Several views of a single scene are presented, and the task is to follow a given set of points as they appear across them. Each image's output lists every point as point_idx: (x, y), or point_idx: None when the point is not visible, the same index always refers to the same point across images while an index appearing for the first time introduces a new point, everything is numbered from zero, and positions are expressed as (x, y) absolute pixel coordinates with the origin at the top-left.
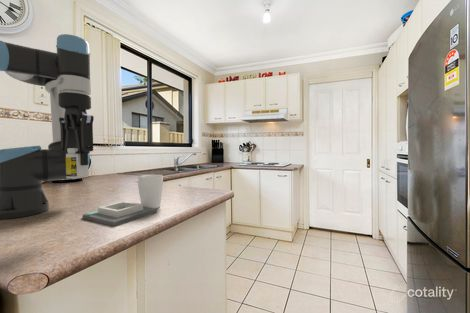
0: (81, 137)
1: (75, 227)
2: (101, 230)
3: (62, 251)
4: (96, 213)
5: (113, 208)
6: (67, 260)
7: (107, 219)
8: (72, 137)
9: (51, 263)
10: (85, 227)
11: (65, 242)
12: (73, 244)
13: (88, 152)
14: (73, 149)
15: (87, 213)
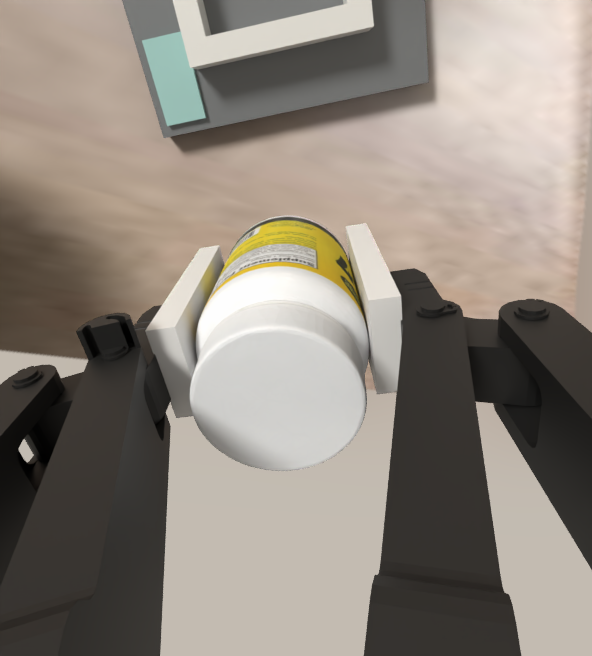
0: (573, 529)
1: (291, 205)
2: (423, 149)
3: (494, 302)
4: (196, 77)
5: None
6: (568, 311)
7: (355, 86)
8: (144, 533)
9: None
10: (325, 178)
11: (429, 277)
12: (470, 267)
13: (475, 320)
14: (346, 435)
15: (174, 117)
